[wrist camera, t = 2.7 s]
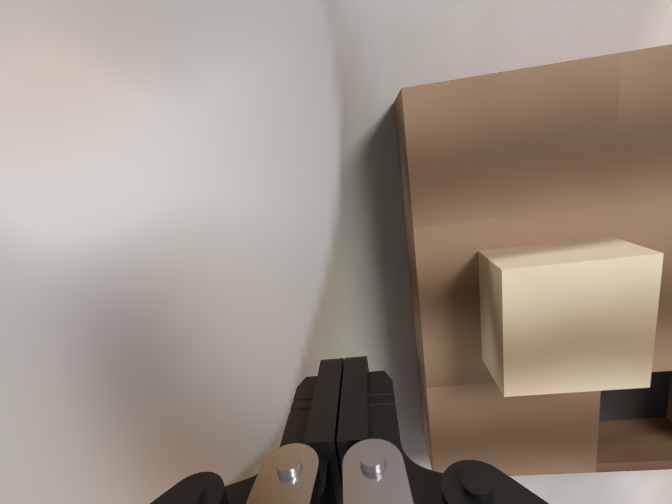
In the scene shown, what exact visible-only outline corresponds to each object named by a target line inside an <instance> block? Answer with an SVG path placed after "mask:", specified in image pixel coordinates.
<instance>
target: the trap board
mask: <svg viewBox="0 0 672 504" xmlns="http://www.w3.org/2000/svg"><path fill="white" fill-rule="evenodd" d="M395 113H396V124H397V135H398V146H399V158H400V169H401V180H402V191H403V203H404V214H405V225H406V236H407V248H408V259H409V270H410V281H411V293H412V304H413V315H414V326H415V338H416V349H417V360H418V371H419V382H420V394H421V405H422V416H423V427H424V435H425V440H426V444H427V449H428V453H429V458H430V462H431V467H432V471H437V472H441V473H444V472H445V470H446V469H447V468H448V467H449V466H450V465H451V464H453V463H455V462H457V461H461V460H478V461H482V462H485V463H488V464H490V465H492V466H494V467H496V468H497V469H499V470H500V471H502V472H503V473H505V474H506V475H508V476H518V475H542V474H566V473H590V472H614V471H638V470H662V469H672V45H666V46H659V47H653V48H647V49H641V50H635V51H629V52H622V53H616V54H610V55H604V56H598V57H592V58H585V59H579V60H573V61H567V62H561V63H555V64H549V65H542V66H536V67H530V68H524V69H518V70H512V71H505V72H499V73H493V74H487V75H481V76H475V77H469V78H462V79H456V80H450V81H444V82H438V83H432V84H425V85H419V86H413V87H407V88H402V89H401V90H400V92H399V94H398V96H397V98H396V99H395ZM608 236H611V237H614V238H617V239H621V240H624V241H627V242H630V243H633V244H636V245H640V246H643V247H646V248H649V249H652V250H655V251H658V252H662V253H664V256H663V266H662V275H661V285H660V295H659V305H658V314H657V324H656V334H655V343H654V353H653V363H652V373H651V382H650V388H634V389H619V390H604V391H588V392H573V393H558V394H543V395H527V396H512V397H504V396H503V394H502V392H501V391H500V389H499V387H498V386H497V384H496V382H495V381H494V379H493V377H492V375H491V374H490V372H489V370H488V369H487V367H486V365H485V364H484V362H483V360H482V344H481V316H480V289H479V261H478V251H481V250H490V249H499V248H508V247H517V246H526V245H535V244H544V243H554V242H563V241H572V240H581V239H590V238H599V237H608Z"/></svg>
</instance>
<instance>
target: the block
mask: <svg viewBox="0 0 672 504" xmlns="http://www.w3.org/2000/svg"><path fill="white" fill-rule="evenodd" d="M663 256H664V253H662V252H658V251H655V250H652V249H649V248H646V247H643V246H640V245H636V244H633V243H630V242H627V241H624V240H621V239H617V238H614V237H611V236H608V237H599V238H590V239H581V240H572V241H563V242H554V243H544V244H535V245H526V246H517V247H508V248H499V249H490V250H481V251H478V261H479V289H480V316H481V344H482V360H483V362H484V364H485V365H486V367H487V369H488V370H489V372H490V374H491V375H492V377H493V379H494V381H495V382H496V384H497V386H498V387H499V389H500V391H501V392H502V394H503V396H504V397H512V396H527V395H543V394H558V393H573V392H588V391H604V390H619V389H634V388H650V382H651V373H652V363H653V353H654V343H655V334H656V324H657V314H658V305H659V295H660V285H661V275H662V266H663Z"/></svg>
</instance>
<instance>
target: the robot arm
mask: <svg viewBox="0 0 672 504" xmlns="http://www.w3.org/2000/svg"><path fill="white" fill-rule="evenodd" d="M150 504H548V503H547V502H545V501H544V500H543V499H541V498H540V497H538V496H537V495H535V494H534V493H532V492H531V491H529V490H528V489H527V488H525V487H524V486H522V485H521V484H519V483H518V482H516V481H515V480H513V479H512V478H510V477H509V476H508V475H506V474H505V473H503V472H502V471H500V470H499V469H497V468H496V467H494V466H492V465H490V464H488V463H485V462H482V461H478V460H461V461H457V462H455V463H453V464H451V465H450V466H449V467H448V468H447V469H446V470H445V472H444V473H441V472H437V471H432V470H429V469H426V468H423V467H421V466H419V465H417V464H415V463H414V462H413V461H411V460H410V459H409V458H408V457H407V456H406V454H405V453H404V451H403V449H402V446H401V442H400V435H399V427H398V420H397V412H396V405H395V398H394V390H393V383H392V379H391V378H390V377H389V376H388V375H387V374H386V372H385V371H375V372H369V369H368V361H367V356H363V357H351V358H345V359H343V358H340V359H328V360H321V362H320V367H319V372H318V376H313V377H306V378H305V379H304V380H303V381H302V382H301V383H300V385H299V386H298V387H297V389H296V393H295V396H294V402H293V403H292V406H291V412H290V413H289V417H288V420H287V423H286V427H285V430H284V434H283V437H282V441H281V444H280V448H278V449H276V450H274V451H273V452H272V453H271V454H269V455H268V457H267V458H266V459H265V460H264V462H263V464H262V465H261V468H260V470H259V473H258V474H257V475H255V476H253V477H251V478H248V479H246V480H243V481H240V482H237V483H234V484H231V485H228V486H224V483H223V480H222V478H221V477H220V476H219V475H217V474H215V473H213V472H200V473H197V474H193V475H191V476H189V477H187V478H185V479H183V480H182V481H180V482H179V483H177V484H176V485H174V486H173V487H172V488H170V489H169V490H168V491H166V492H165V493H164V494H162V495H161V496H160V497H158V498H157V499H156V500H154V501H153V502H152V503H150Z"/></svg>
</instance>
